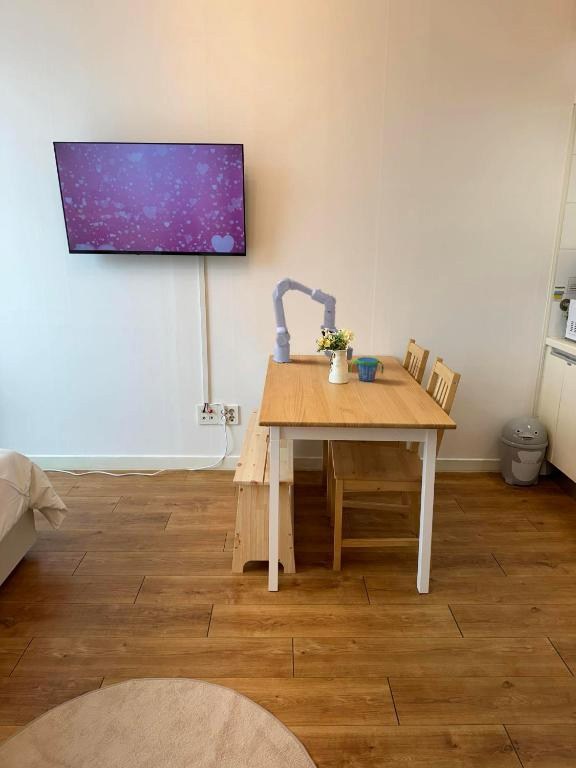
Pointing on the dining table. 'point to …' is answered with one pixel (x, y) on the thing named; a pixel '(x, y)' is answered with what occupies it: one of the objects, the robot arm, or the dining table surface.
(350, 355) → the grey stepped block
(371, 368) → the snack cup
